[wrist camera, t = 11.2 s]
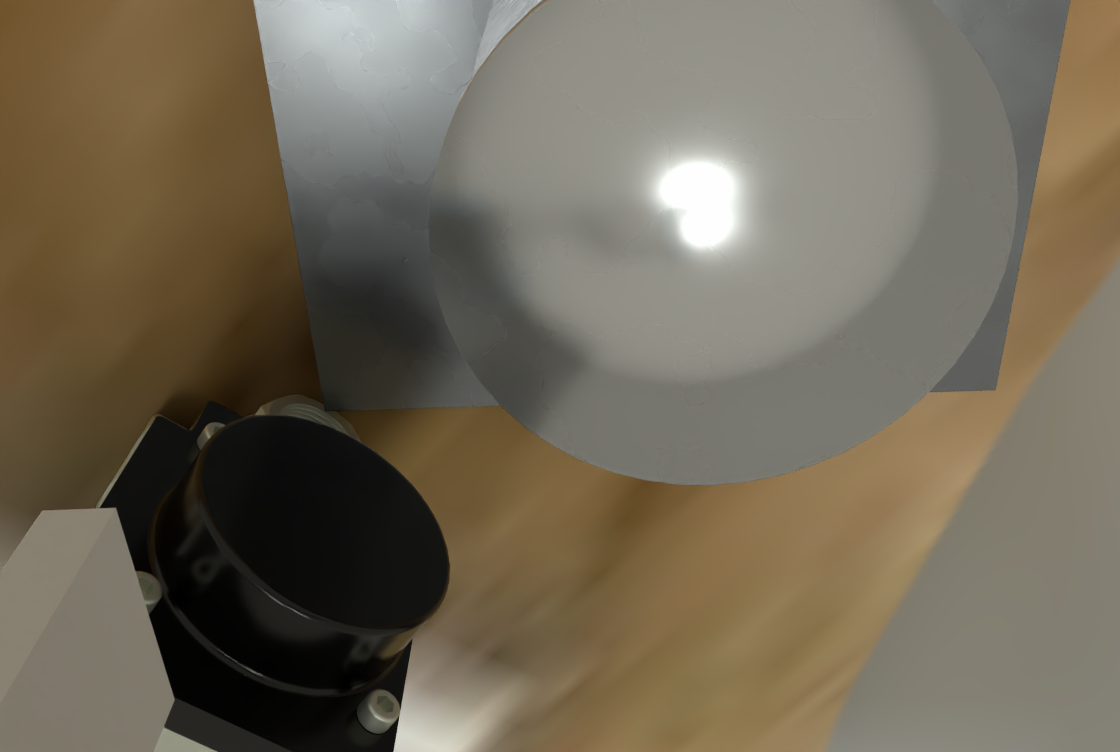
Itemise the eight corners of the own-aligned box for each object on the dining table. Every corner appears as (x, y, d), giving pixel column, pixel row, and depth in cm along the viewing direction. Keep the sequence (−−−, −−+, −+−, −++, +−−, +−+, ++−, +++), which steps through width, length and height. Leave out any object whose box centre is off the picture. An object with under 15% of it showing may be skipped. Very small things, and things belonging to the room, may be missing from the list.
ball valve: (263, 221, 34) (10, 609, 18) (488, 360, 36) (433, 806, 21) (40, 579, 41) (-277, 1074, 25) (240, 675, 43) (61, 1178, 28)
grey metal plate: (333, 388, 37) (266, 569, 28) (201, -401, 26) (31, -481, 17) (979, 367, 36) (1103, 545, 28) (1126, -445, 25) (1402, -547, 17)
